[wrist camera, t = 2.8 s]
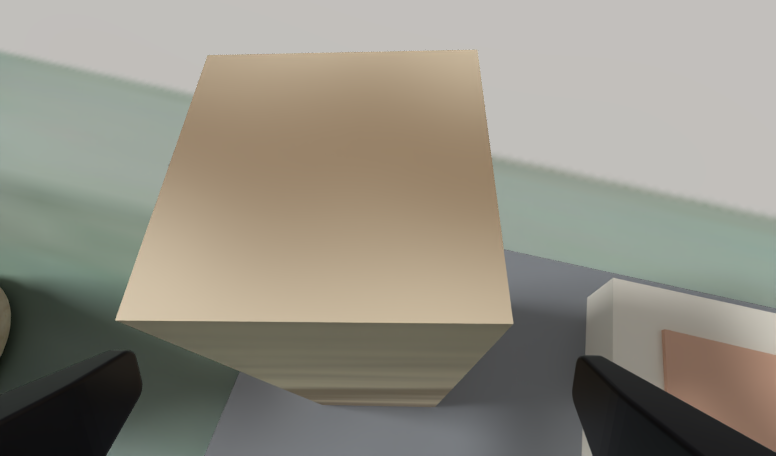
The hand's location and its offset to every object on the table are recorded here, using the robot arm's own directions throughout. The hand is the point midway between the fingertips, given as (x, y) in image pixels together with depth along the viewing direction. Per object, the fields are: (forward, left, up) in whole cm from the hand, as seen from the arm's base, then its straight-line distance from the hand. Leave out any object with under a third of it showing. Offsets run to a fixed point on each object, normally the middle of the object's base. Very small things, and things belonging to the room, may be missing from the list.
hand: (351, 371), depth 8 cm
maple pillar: (+2, -1, -9) cm, 9 cm away
